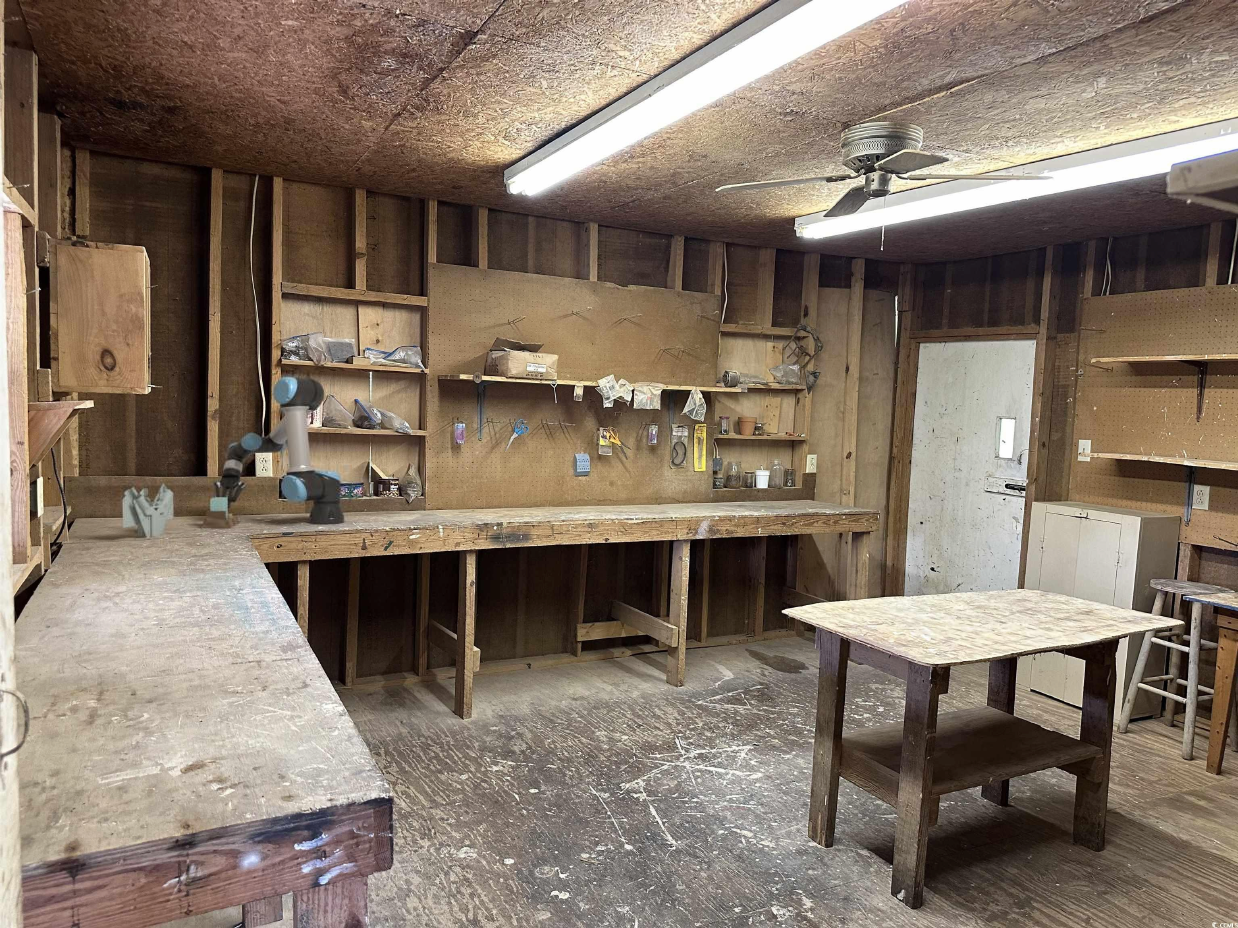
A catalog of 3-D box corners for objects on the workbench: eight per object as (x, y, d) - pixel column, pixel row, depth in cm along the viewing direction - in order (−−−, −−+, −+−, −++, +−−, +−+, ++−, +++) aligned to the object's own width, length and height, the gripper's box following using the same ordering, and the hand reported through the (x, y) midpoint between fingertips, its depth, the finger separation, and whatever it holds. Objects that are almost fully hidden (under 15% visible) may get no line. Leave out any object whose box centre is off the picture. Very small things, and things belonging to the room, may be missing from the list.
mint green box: (215, 522, 351) (214, 497, 351) (227, 522, 352) (227, 497, 352) (210, 525, 345) (210, 499, 344) (223, 525, 346) (223, 499, 345)
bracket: (132, 541, 307) (131, 488, 306) (115, 540, 308) (114, 487, 307) (181, 531, 334) (181, 482, 333) (166, 530, 335) (165, 482, 334)
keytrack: (212, 523, 357) (211, 507, 357) (239, 523, 359) (238, 507, 359) (201, 528, 343) (201, 511, 342) (230, 528, 345) (230, 511, 344)
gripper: (249, 477, 374) (240, 518, 359) (218, 477, 371) (208, 519, 356) (246, 467, 368) (237, 508, 353) (214, 466, 365) (205, 508, 350)
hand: (223, 513), depth 354 cm, fingers closed
